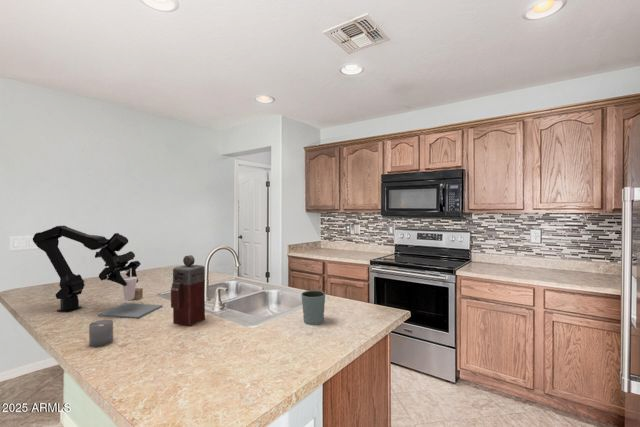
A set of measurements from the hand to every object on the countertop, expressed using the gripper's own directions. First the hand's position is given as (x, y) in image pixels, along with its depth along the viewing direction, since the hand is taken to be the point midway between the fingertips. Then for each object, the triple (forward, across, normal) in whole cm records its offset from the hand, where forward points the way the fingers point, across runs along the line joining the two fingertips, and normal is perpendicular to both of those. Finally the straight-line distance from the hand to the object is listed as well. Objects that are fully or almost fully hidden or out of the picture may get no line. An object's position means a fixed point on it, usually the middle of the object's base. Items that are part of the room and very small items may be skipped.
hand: (131, 283), depth 143 cm
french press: (+32, -6, -13) cm, 35 cm away
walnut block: (0, +18, +19) cm, 26 cm away
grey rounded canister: (+19, -29, 0) cm, 35 cm away
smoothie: (+4, 0, +6) cm, 7 cm away
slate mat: (+8, +1, +10) cm, 13 cm away
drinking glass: (+68, +6, -50) cm, 85 cm away
